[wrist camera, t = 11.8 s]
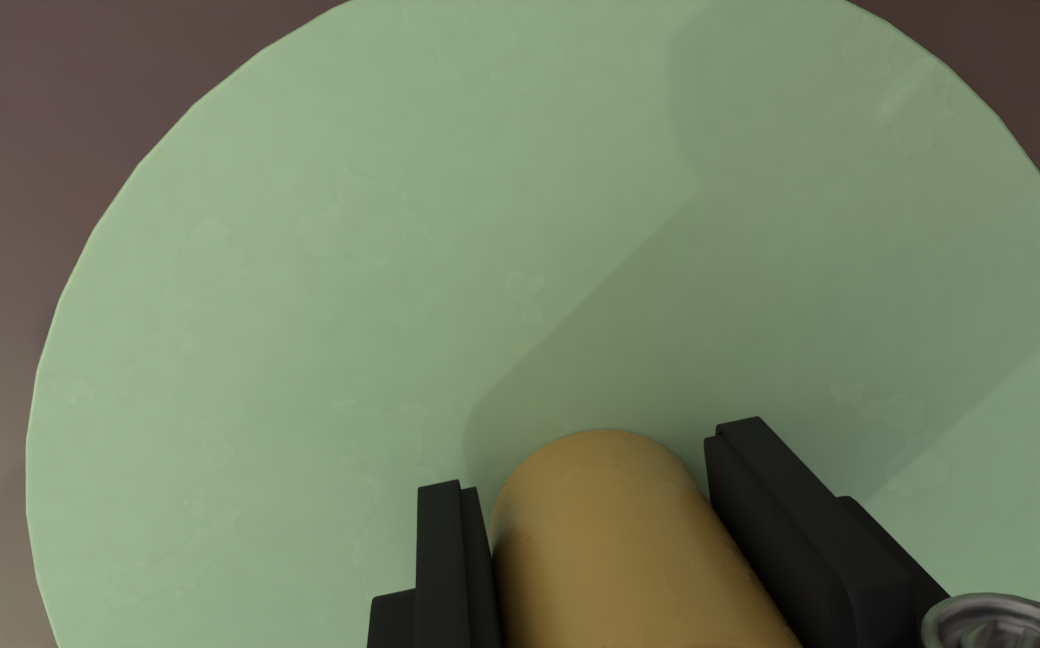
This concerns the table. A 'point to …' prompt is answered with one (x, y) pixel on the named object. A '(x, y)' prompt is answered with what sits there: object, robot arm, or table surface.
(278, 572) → the green pot lid
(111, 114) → the table surface
